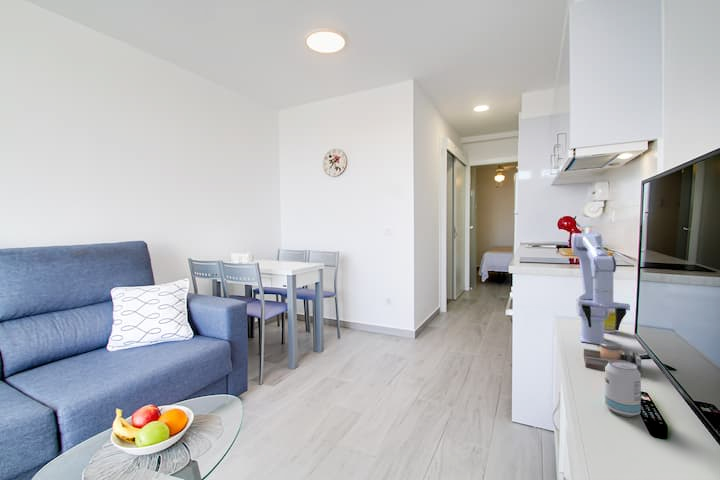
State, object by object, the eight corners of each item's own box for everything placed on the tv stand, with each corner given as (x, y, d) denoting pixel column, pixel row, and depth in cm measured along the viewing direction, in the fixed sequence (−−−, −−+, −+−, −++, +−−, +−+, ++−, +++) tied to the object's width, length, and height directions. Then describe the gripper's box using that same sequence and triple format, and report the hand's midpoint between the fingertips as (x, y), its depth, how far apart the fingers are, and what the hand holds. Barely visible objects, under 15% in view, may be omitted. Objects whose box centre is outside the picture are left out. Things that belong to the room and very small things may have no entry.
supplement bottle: (619, 333, 135) (619, 303, 134) (601, 333, 136) (601, 302, 136) (610, 328, 141) (610, 299, 141) (593, 328, 143) (593, 299, 142)
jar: (599, 357, 110) (599, 340, 110) (620, 361, 107) (620, 343, 107) (600, 363, 106) (600, 345, 105) (622, 367, 102) (622, 348, 102)
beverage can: (605, 400, 86) (605, 356, 86) (640, 409, 82) (640, 362, 81) (604, 412, 81) (604, 365, 80) (641, 422, 76) (641, 373, 76)
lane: (583, 356, 114) (583, 342, 114) (635, 363, 107) (635, 348, 107) (585, 367, 106) (585, 352, 105) (641, 376, 98) (641, 360, 98)
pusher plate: (623, 360, 107) (623, 348, 107) (627, 361, 106) (627, 349, 106) (627, 367, 102) (627, 354, 102) (631, 368, 101) (631, 355, 101)
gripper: (578, 290, 115) (579, 328, 115) (631, 294, 107) (631, 334, 108) (577, 287, 121) (577, 323, 121) (627, 290, 113) (627, 328, 114)
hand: (603, 328), depth 115 cm, fingers open, 7 cm apart
